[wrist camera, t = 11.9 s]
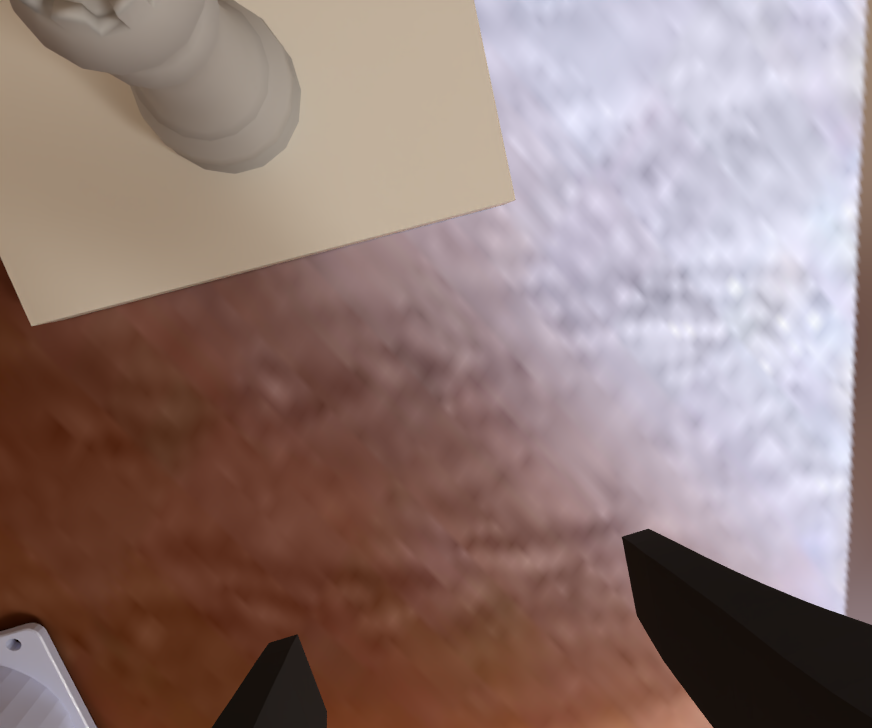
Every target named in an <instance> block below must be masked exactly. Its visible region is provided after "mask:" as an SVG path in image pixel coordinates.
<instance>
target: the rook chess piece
mask: <svg viewBox="0 0 872 728" xmlns="http://www.w3.org/2000/svg"><path fill="white" fill-rule="evenodd" d="M9 1H10V3H11V6H12V8H13V11H14V12H15V13H16V14H17V15H18V17H19V18H20V19H21V20H22V21H23V22H24V24H25V25H26V26H27V27H28V28H29V29H30V30H31V32H32V33H33V34H34V35H35V36H36V37H37V38H38V40H39V41H40V42H41V43H42V44H43V45H44V46H45V47H46V48H48V49H50V50H51V51H53V52H55V53H57V54H58V55H60V56H62V57H63V58H65V59H67V60H69V61H70V62H72V63H74V64H75V65H77V66H79V67H81V68H82V69H88V70H94V71H100V72H106V73H109V74H111V75H113V76H114V77H116V78H118V79H120V80H121V81H123V82H125V83H126V84H128V85H130V87H131V90H132V92H133V95H134V98H135V100H136V103H137V106H138V108H139V111H140V113H141V115H142V117H143V119H144V120H145V121H146V122H147V124H148V125H149V126H150V127H151V128H152V129H153V131H154V132H155V133H156V134H157V135H158V137H159V138H160V139H161V140H162V141H163V142H164V144H165V145H166V146H168V147H170V148H172V149H173V150H174V151H175V152H176V153H177V154H178V155H180V156H182V157H184V158H185V159H187V160H189V161H191V162H192V163H194V164H196V165H198V166H199V167H201V168H203V169H205V170H211V171H218V172H225V173H232V174H237V173H241V172H244V171H248V170H252V169H256V168H260V167H263V166H265V165H266V164H267V163H268V162H269V161H271V160H272V159H273V158H274V157H276V156H277V155H278V154H279V153H280V152H282V151H283V150H284V149H285V148H286V146H287V144H288V142H289V140H290V138H291V136H292V134H293V132H294V130H295V128H296V126H297V124H298V122H299V113H300V99H301V88H300V85H299V82H298V78H297V75H296V72H295V68H294V65H293V62H292V58H291V57H290V56H289V54H288V53H287V52H286V50H285V49H284V47H283V46H282V44H281V43H280V42H279V40H278V39H277V38H276V36H275V35H274V33H273V32H272V31H271V29H270V28H269V27H268V25H267V24H266V23H265V21H264V20H263V19H262V18H260V17H259V16H257V15H256V14H254V13H253V12H251V11H249V10H248V9H246V8H245V7H243V6H242V5H240V4H239V3H237V2H236V1H234V0H9Z"/></svg>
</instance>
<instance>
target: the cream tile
mask: <svg viewBox="0 0 872 728" xmlns="http://www.w3.org/2000/svg"><path fill="white" fill-rule="evenodd" d="M234 1H236V2H237V3H239V4H240V5H242V6H243V7H245V8H246V9H248V10H249V11H251V12H253V13H254V14H256V15H257V16H259V17H260V18H262V19H263V20H264V21H265V23H266V24H267V25H268V27H269V28H270V29H271V31H272V32H273V33H274V35H275V36H276V38H277V39H278V40H279V42H280V43H281V44H282V46H283V47H284V49H285V50H286V52H287V53H288V54H289V56H290V57H291V58H292V62H293V65H294V68H295V72H296V75H297V78H298V82H299V85H300V88H301V99H300V113H299V122H298V124H297V126H296V128H295V130H294V132H293V134H292V136H291V138H290V140H289V142H288V144H287V146H286V148H285V149H284V150H283V151H282V152H280V153H279V154H278V155H277V156H276V157H274V158H273V159H272V160H271V161H269V162H268V163H267V164H266V165H265V166H263V167H260V168H256V169H252V170H248V171H244V172H241V173H237V174H232V173H225V172H218V171H211V170H205V169H203V168H201V167H199V166H198V165H196V164H194V163H192V162H191V161H189V160H187V159H185V158H184V157H182V156H180V155H178V154H177V153H176V152H175V151H174V150H173V149H172V148H170V147H168V146H166V145H165V144H164V142H163V141H162V140H161V139H160V138H159V137H158V135H157V134H156V133H155V132H154V131H153V129H152V128H151V127H150V126H149V125H148V124H147V122H146V121H145V120H144V119H143V117H142V115H141V113H140V111H139V108H138V106H137V103H136V100H135V98H134V95H133V92H132V90H131V87H130V85H128V84H126V83H125V82H123V81H121V80H120V79H118V78H116V77H114V76H113V75H111V74H109V73H106V72H100V71H94V70H88V69H82V68H81V67H79V66H77V65H75V64H74V63H72V62H70V61H69V60H67V59H65V58H63V57H62V56H60V55H58V54H57V53H55V52H53V51H51V50H50V49H48V48H46V47H45V46H44V45H43V44H42V43H41V42H40V41H39V40H38V38H37V37H36V36H35V35H34V34H33V33H32V32H31V30H30V29H29V28H28V27H27V26H26V25H25V24H24V22H23V21H22V20H21V19H20V18H19V17H18V15H17V14H16V13H15V12H14V11H13V8H12V6H11V3H10V1H9V0H0V257H1V260H2V262H3V264H4V266H5V268H6V271H7V273H8V275H9V277H10V280H11V282H12V284H13V286H14V288H15V291H16V293H17V295H18V297H19V300H20V302H21V304H22V306H23V308H24V311H25V313H26V315H27V317H28V320H29V322H30V324H31V326H35V325H41V324H46V323H51V322H56V321H61V320H65V319H69V318H72V317H76V316H80V315H84V314H88V313H92V312H95V311H99V310H103V309H107V308H111V307H115V306H118V305H122V304H126V303H130V302H134V301H138V300H141V299H145V298H149V297H153V296H157V295H160V294H164V293H168V292H172V291H176V290H180V289H183V288H187V287H191V286H195V285H199V284H203V283H206V282H210V281H214V280H218V279H222V278H226V277H229V276H233V275H237V274H241V273H245V272H249V271H252V270H256V269H260V268H264V267H268V266H271V265H275V264H279V263H283V262H287V261H291V260H294V259H298V258H302V257H306V256H310V255H314V254H317V253H321V252H325V251H329V250H333V249H337V248H340V247H344V246H348V245H352V244H356V243H360V242H363V241H367V240H371V239H375V238H379V237H383V236H386V235H390V234H394V233H398V232H402V231H405V230H409V229H413V228H417V227H421V226H425V225H428V224H432V223H436V222H440V221H444V220H448V219H451V218H455V217H459V216H463V215H467V214H471V213H474V212H478V211H482V210H486V209H490V208H494V207H497V206H501V205H505V204H507V203H509V202H512V201H514V200H515V196H514V191H513V186H512V181H511V176H510V172H509V167H508V162H507V157H506V153H505V148H504V143H503V138H502V133H501V129H500V124H499V119H498V114H497V109H496V105H495V100H494V95H493V90H492V85H491V81H490V76H489V71H488V66H487V62H486V57H485V52H484V47H483V42H482V38H481V33H480V28H479V23H478V18H477V14H476V9H475V4H474V0H234Z"/></svg>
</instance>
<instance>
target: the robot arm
mask: <svg viewBox="0 0 872 728" xmlns="http://www.w3.org/2000/svg"><path fill="white" fill-rule="evenodd" d="M622 540H623V545H624V550H625V556H626V561H627V566H628V571H629V577H630V582H631V587H632V593H633V598H634V603H635V608H636V614H637V617H638V618H639V620H640V622H641V623H642V625H643V627H644V629H645V630H646V632H647V634H648V636H649V637H650V639H651V641H652V642H653V644H654V646H655V647H656V649H657V651H658V652H659V654H660V656H661V657H662V659H663V661H664V662H665V663H666V665H667V666H668V668H669V669H670V670H671V672H672V673H673V674H674V676H675V677H676V678H677V680H678V681H679V682H680V684H681V685H682V686H683V688H684V689H685V690H686V692H687V693H688V695H689V696H690V697H691V699H692V700H693V701H694V703H695V704H696V705H697V707H698V708H699V709H700V711H701V712H702V713H703V715H704V716H705V717H706V719H707V720H708V721H709V723H710V724H711V725H712V727H713V728H872V625H870V624H867V623H864V622H862V621H858V620H855V619H853V618H850V617H847V616H844V615H841V614H839V613H836V612H833V611H830V610H827V609H824V608H822V607H819V606H816V605H814V604H811V603H808V602H806V601H803V600H801V599H798V598H796V597H793V596H791V595H789V594H786V593H784V592H781V591H779V590H777V589H774V588H772V587H769V586H767V585H765V584H762V583H760V582H758V581H756V580H753V579H751V578H749V577H747V576H744V575H742V574H740V573H738V572H736V571H734V570H731V569H729V568H727V567H725V566H723V565H721V564H719V563H717V562H715V561H713V560H711V559H708V558H706V557H704V556H702V555H700V554H698V553H696V552H694V551H692V550H690V549H688V548H686V547H684V546H682V545H680V544H678V543H676V542H674V541H672V540H670V539H668V538H666V537H664V536H662V535H660V534H658V533H656V532H654V531H652V530H650V529H646V530H643V531H640V532H636V533H633V534H630V535H626V536H623V537H622ZM14 639H17V640H19V641H20V642H21V643H19V642H16V641H15V640H14ZM0 728H97V727H96V725H95V723H94V721H93V720H92V718H91V716H90V714H89V712H88V710H87V708H86V706H85V704H84V702H83V700H82V698H81V696H80V694H79V692H78V691H77V689H76V687H75V685H74V683H73V681H72V679H71V677H70V675H69V673H68V671H67V669H66V667H65V665H64V663H63V662H62V660H61V658H60V656H59V654H58V652H57V650H56V648H55V646H54V644H53V642H52V640H51V638H50V636H49V635H48V633H47V631H46V629H45V628H44V627H43V626H42V625H40V624H37V623H27V624H24V625H21V626H17V627H14V628H10V629H7V630H3V631H0ZM212 728H327V711H326V708H325V706H324V703H323V700H322V698H321V695H320V692H319V690H318V687H317V684H316V682H315V679H314V677H313V674H312V671H311V669H310V666H309V663H308V661H307V658H306V656H305V653H304V650H303V648H302V645H301V642H300V640H299V637H298V634H297V635H294V636H291V637H287V638H284V639H281V640H277V641H274V642H271V643H269V644H268V645H267V647H266V648H265V650H264V651H263V652H262V654H261V655H260V657H259V658H258V660H257V661H256V663H255V664H254V666H253V667H252V669H251V670H250V672H249V673H248V675H247V676H246V678H245V679H244V681H243V682H242V684H241V685H240V687H239V688H238V690H237V691H236V693H235V694H234V696H233V697H232V699H231V700H230V702H229V703H228V705H227V706H226V707H225V709H224V710H223V712H222V713H221V715H220V716H219V718H218V719H217V721H216V722H215V724H214V725H213V726H212Z"/></svg>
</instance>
